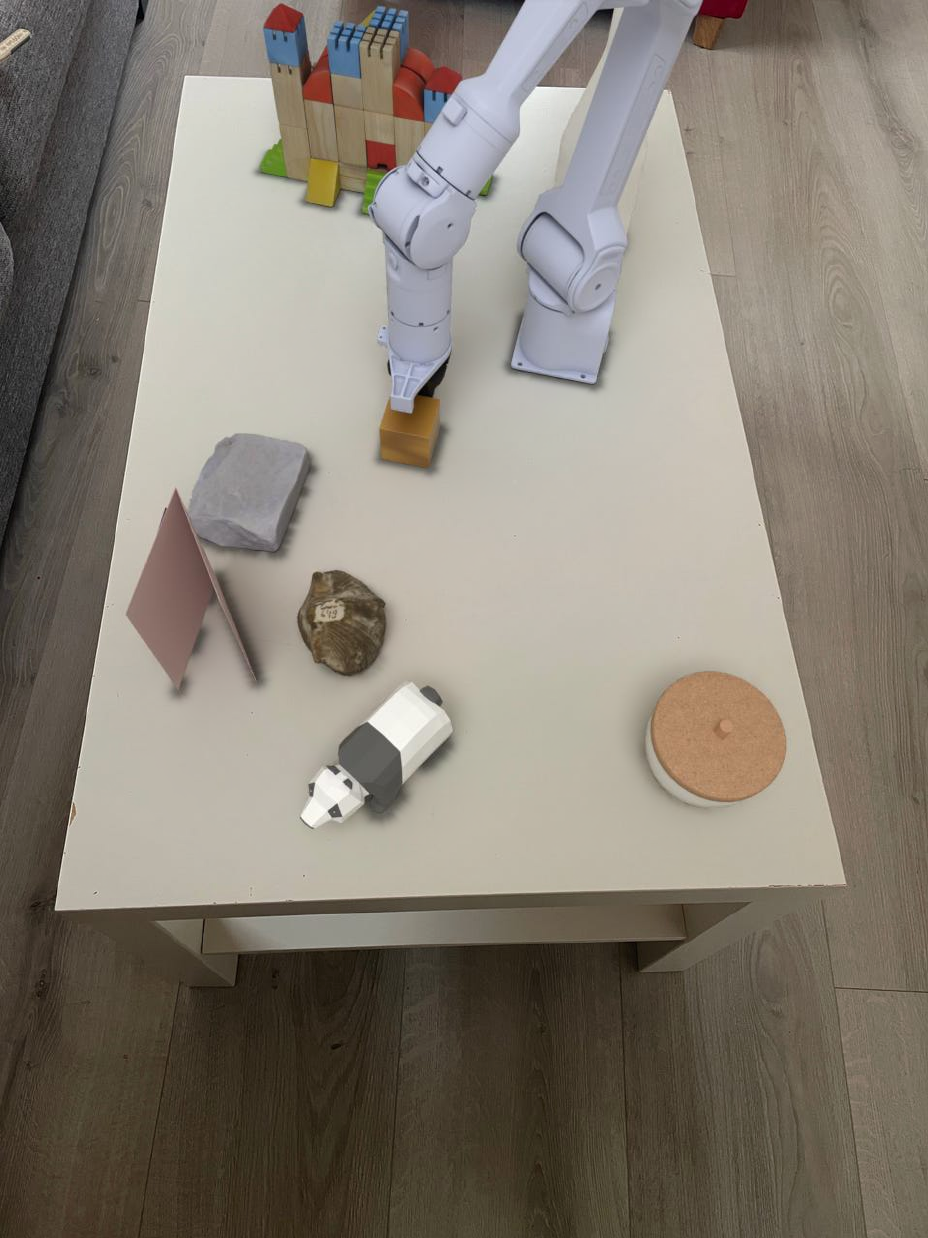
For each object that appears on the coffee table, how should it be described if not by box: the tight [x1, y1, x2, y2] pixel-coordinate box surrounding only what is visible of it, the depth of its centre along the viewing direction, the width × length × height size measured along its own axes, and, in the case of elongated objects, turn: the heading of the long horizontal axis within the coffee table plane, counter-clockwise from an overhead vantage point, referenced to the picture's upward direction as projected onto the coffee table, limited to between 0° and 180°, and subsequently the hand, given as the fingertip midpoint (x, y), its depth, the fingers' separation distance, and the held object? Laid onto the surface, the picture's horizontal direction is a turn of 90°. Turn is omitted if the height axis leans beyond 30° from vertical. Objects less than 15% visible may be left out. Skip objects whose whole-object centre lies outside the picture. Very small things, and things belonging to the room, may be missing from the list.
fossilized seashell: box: [296, 569, 387, 677], centre depth 76 cm, size 8×7×10 cm
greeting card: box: [124, 486, 258, 691], centre depth 71 cm, size 11×7×15 cm, turn 170°
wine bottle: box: [553, 7, 649, 237], centre depth 90 cm, size 10×10×30 cm
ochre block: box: [378, 393, 441, 469], centre depth 86 cm, size 5×5×5 cm
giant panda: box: [299, 681, 454, 830], centre depth 68 cm, size 15×6×10 cm, turn 138°
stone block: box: [186, 432, 311, 553], centre depth 83 cm, size 12×5×10 cm
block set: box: [259, 3, 494, 215], centre depth 98 cm, size 28×14×19 cm, turn 77°
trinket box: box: [644, 670, 787, 809], centre depth 70 cm, size 11×11×9 cm
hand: (420, 404), depth 89 cm, fingers closed
